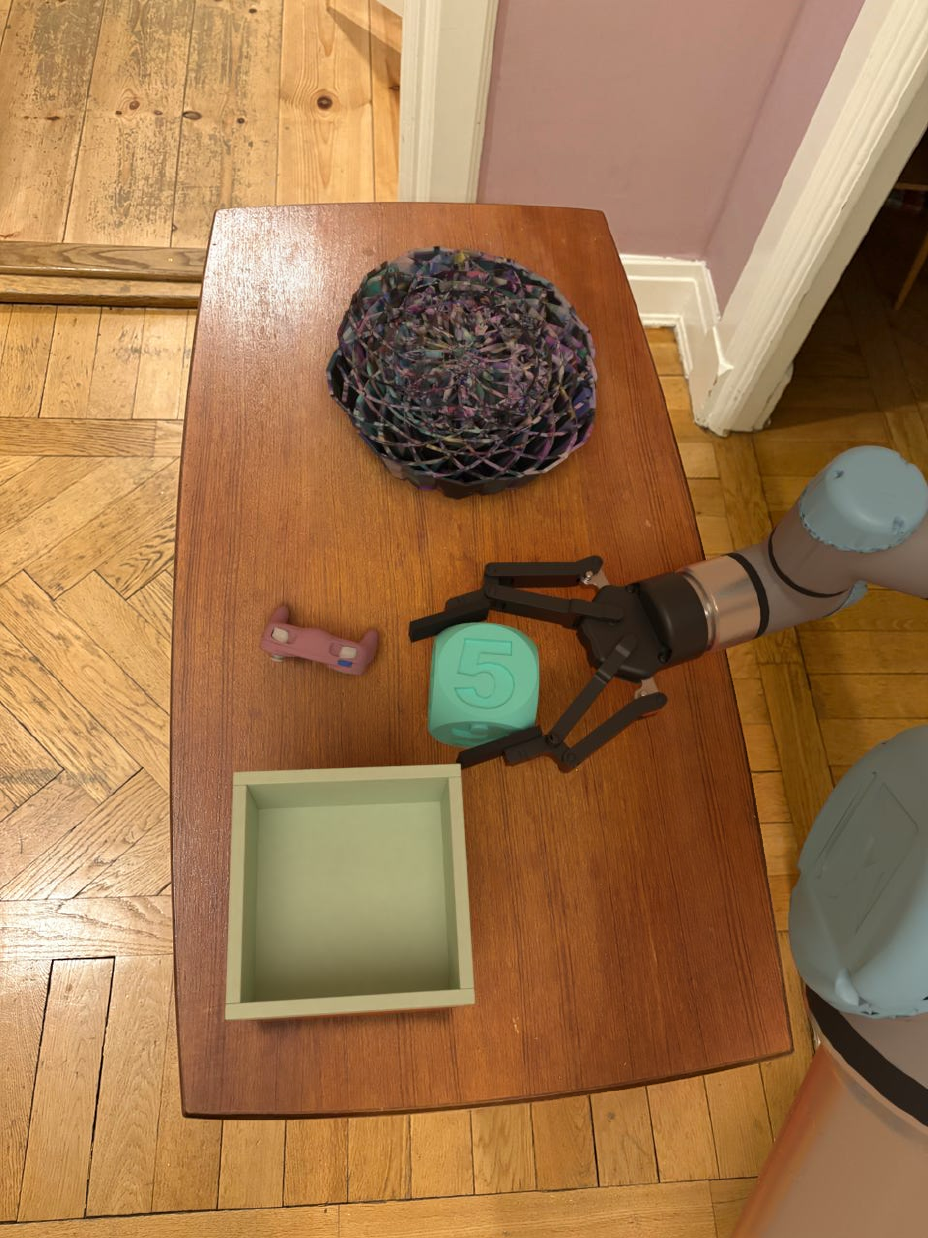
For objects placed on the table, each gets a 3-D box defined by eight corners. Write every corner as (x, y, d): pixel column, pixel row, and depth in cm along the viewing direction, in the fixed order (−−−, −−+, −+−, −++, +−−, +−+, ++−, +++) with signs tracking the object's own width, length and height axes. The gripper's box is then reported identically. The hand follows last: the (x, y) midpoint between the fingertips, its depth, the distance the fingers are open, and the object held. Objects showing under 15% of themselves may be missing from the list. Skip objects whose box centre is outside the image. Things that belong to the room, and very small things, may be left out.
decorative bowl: (324, 526, 92) (319, 480, 83) (334, 289, 101) (331, 222, 91) (584, 534, 94) (608, 490, 85) (571, 302, 103) (592, 238, 94)
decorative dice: (524, 662, 81) (540, 625, 74) (522, 753, 78) (539, 724, 70) (430, 655, 80) (437, 617, 73) (425, 746, 77) (432, 716, 70)
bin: (462, 1006, 60) (475, 1003, 52) (242, 1020, 58) (224, 1020, 51) (450, 792, 65) (460, 763, 58) (248, 800, 63) (233, 771, 56)
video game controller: (266, 651, 86) (247, 658, 79) (278, 602, 86) (260, 605, 79) (371, 679, 86) (361, 688, 79) (384, 630, 86) (375, 635, 79)
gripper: (733, 753, 77) (481, 846, 72) (620, 519, 85) (385, 588, 80) (769, 726, 70) (493, 826, 65) (642, 474, 78) (387, 546, 73)
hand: (434, 695), depth 73 cm, fingers closed on decorative dice, 10 cm apart
